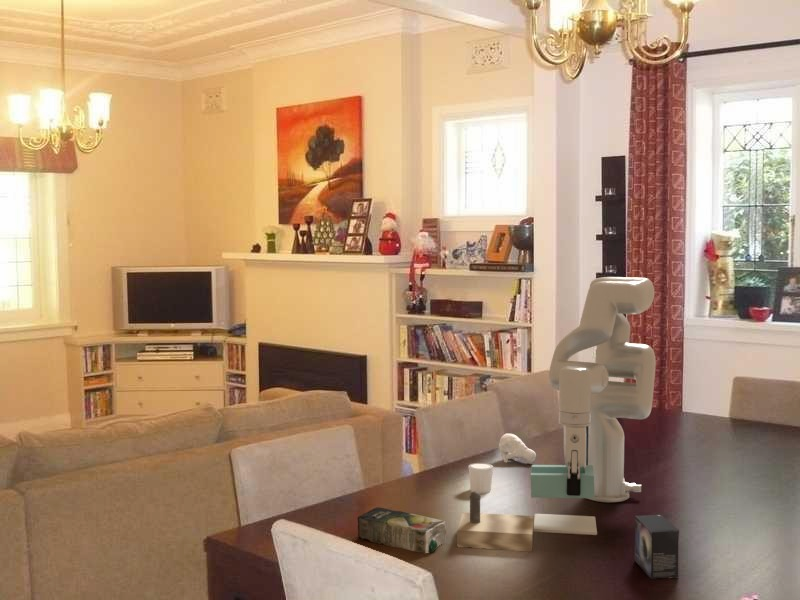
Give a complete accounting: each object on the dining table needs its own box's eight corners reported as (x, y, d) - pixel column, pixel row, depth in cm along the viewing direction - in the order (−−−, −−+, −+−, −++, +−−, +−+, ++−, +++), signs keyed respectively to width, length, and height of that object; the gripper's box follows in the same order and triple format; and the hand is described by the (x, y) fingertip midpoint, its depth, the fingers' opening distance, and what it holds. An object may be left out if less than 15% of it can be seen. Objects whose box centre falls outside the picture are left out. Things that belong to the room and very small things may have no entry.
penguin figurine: (506, 430, 288) (541, 438, 282) (504, 456, 290) (538, 465, 283) (497, 434, 283) (532, 442, 277) (495, 460, 284) (530, 469, 278)
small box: (632, 561, 200) (633, 514, 200) (661, 560, 201) (661, 513, 200) (649, 579, 190) (650, 530, 189) (679, 578, 190) (680, 529, 190)
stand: (533, 532, 219) (533, 486, 218) (531, 551, 206) (532, 502, 205) (463, 528, 222) (463, 483, 221) (457, 547, 209) (457, 499, 208)
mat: (595, 518, 229) (595, 516, 229) (596, 534, 217) (597, 532, 217) (534, 515, 231) (534, 513, 231) (533, 531, 220) (533, 529, 220)
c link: (593, 486, 227) (592, 465, 226) (594, 498, 217) (594, 475, 217) (532, 486, 229) (531, 464, 229) (531, 497, 220) (530, 475, 219)
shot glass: (491, 494, 250) (491, 469, 249) (466, 493, 251) (466, 468, 250) (494, 487, 256) (494, 463, 256) (469, 486, 258) (469, 462, 257)
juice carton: (451, 542, 213) (450, 517, 212) (430, 556, 204) (430, 530, 204) (378, 529, 223) (378, 505, 222) (356, 541, 215) (355, 516, 214)
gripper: (591, 425, 209) (590, 504, 210) (589, 412, 225) (588, 485, 226) (558, 424, 210) (557, 502, 212) (558, 411, 226) (557, 484, 227)
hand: (573, 493), depth 219 cm, fingers closed on c link
